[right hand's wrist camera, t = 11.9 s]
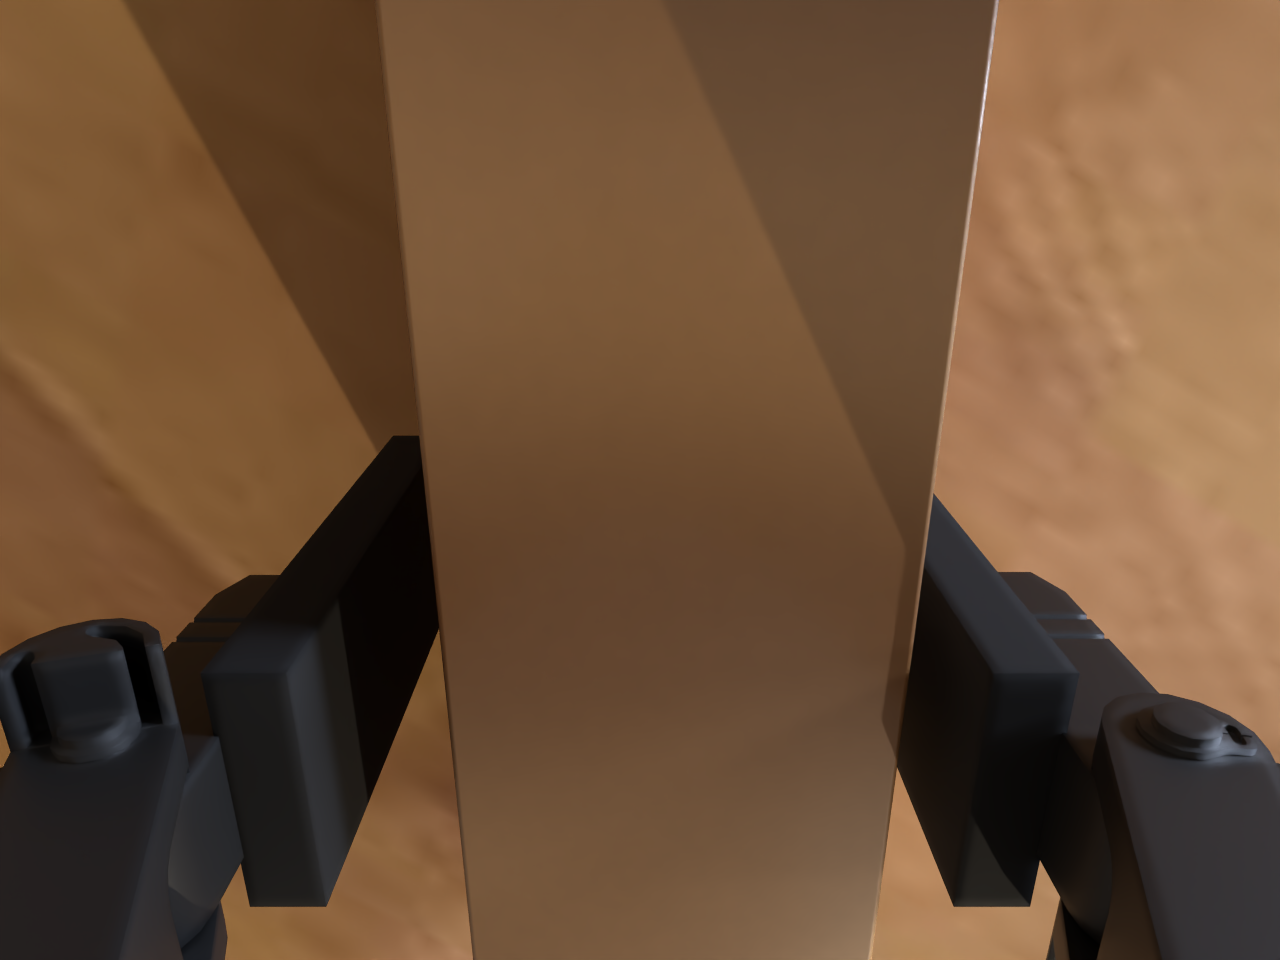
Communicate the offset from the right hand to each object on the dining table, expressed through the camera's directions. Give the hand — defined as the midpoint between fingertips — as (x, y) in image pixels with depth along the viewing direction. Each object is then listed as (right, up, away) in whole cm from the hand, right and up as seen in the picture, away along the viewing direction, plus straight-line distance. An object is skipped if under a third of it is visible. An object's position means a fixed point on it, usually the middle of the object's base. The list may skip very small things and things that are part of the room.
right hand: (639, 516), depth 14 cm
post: (0, +18, -6) cm, 19 cm away
